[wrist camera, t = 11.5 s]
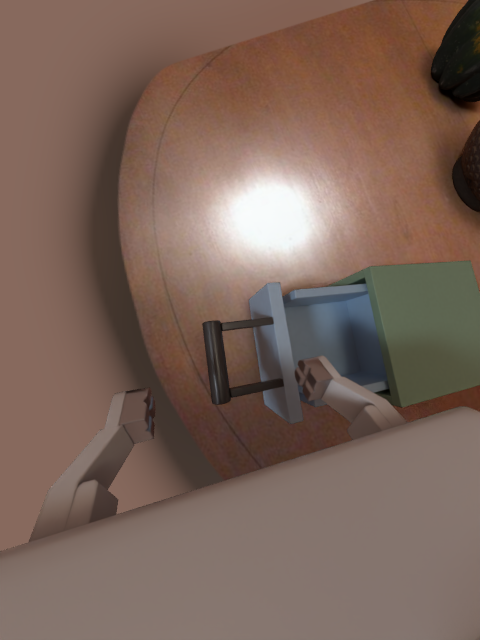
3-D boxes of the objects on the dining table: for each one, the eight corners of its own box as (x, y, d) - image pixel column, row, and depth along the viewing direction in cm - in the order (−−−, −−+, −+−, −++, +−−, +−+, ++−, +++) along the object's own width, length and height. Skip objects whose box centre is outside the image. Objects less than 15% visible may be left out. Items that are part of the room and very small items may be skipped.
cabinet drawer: (210, 417, 20) (218, 447, 14) (196, 304, 21) (198, 286, 15) (361, 382, 24) (417, 393, 18) (342, 290, 25) (388, 272, 19)
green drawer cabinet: (338, 390, 24) (401, 407, 17) (319, 289, 26) (369, 266, 18) (421, 370, 28) (504, 378, 20) (400, 282, 29) (470, 260, 22)
